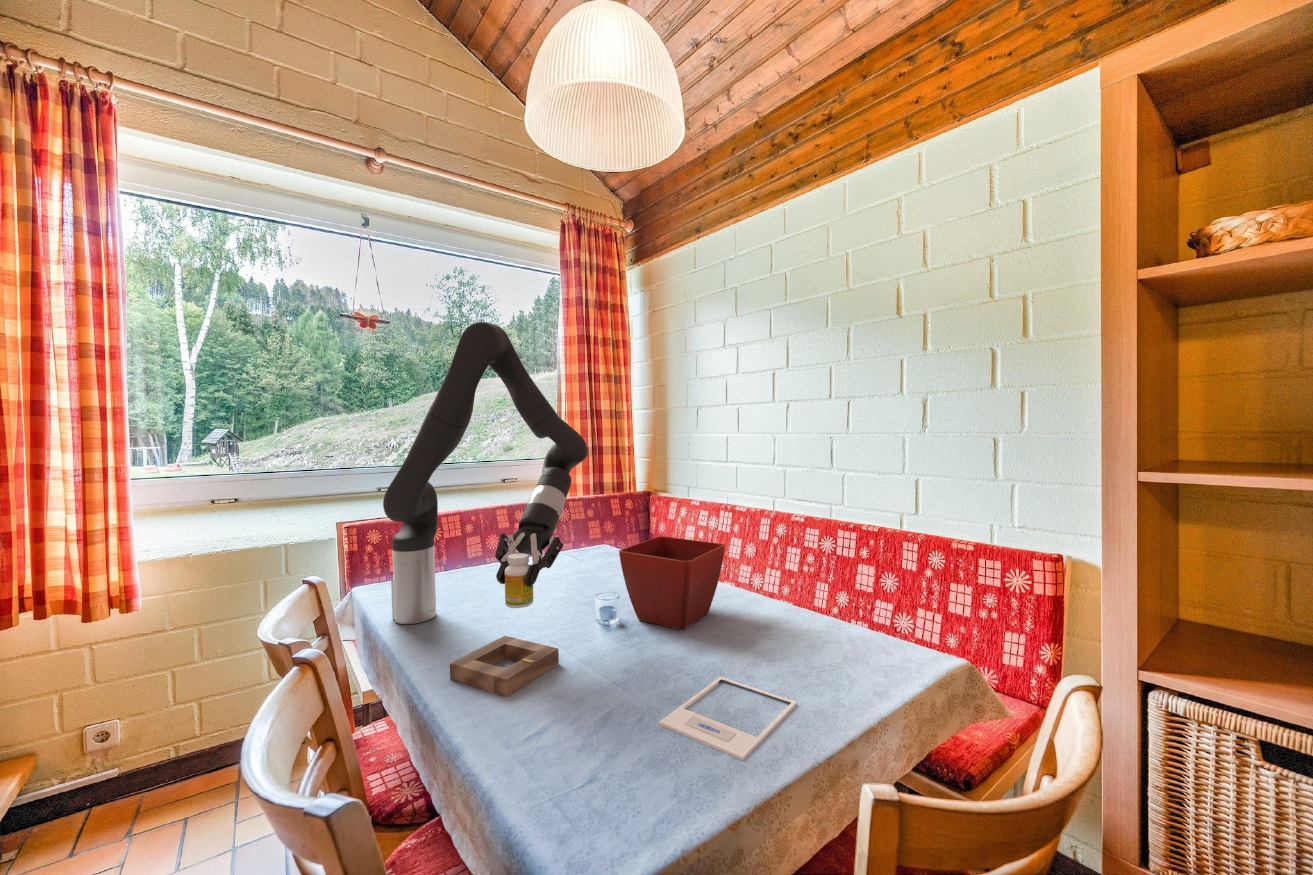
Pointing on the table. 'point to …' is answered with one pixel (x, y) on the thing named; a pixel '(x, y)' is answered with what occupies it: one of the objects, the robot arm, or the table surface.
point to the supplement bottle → (517, 582)
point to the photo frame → (719, 725)
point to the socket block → (499, 680)
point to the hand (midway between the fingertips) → (513, 583)
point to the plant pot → (672, 579)
